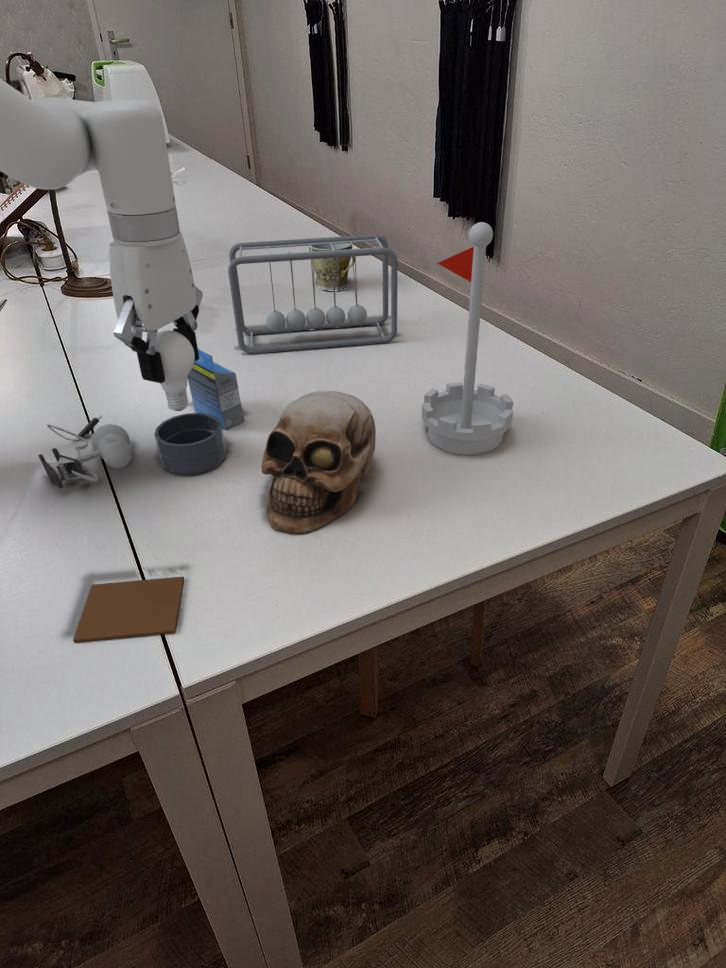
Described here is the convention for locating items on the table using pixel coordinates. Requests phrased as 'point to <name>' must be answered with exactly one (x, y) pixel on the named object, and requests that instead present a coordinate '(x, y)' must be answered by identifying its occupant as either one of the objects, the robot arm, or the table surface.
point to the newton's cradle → (314, 315)
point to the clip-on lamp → (106, 445)
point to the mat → (130, 609)
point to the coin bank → (317, 459)
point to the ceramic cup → (325, 267)
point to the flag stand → (468, 373)
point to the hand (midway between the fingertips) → (171, 368)
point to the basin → (190, 443)
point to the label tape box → (215, 391)
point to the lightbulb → (175, 366)
